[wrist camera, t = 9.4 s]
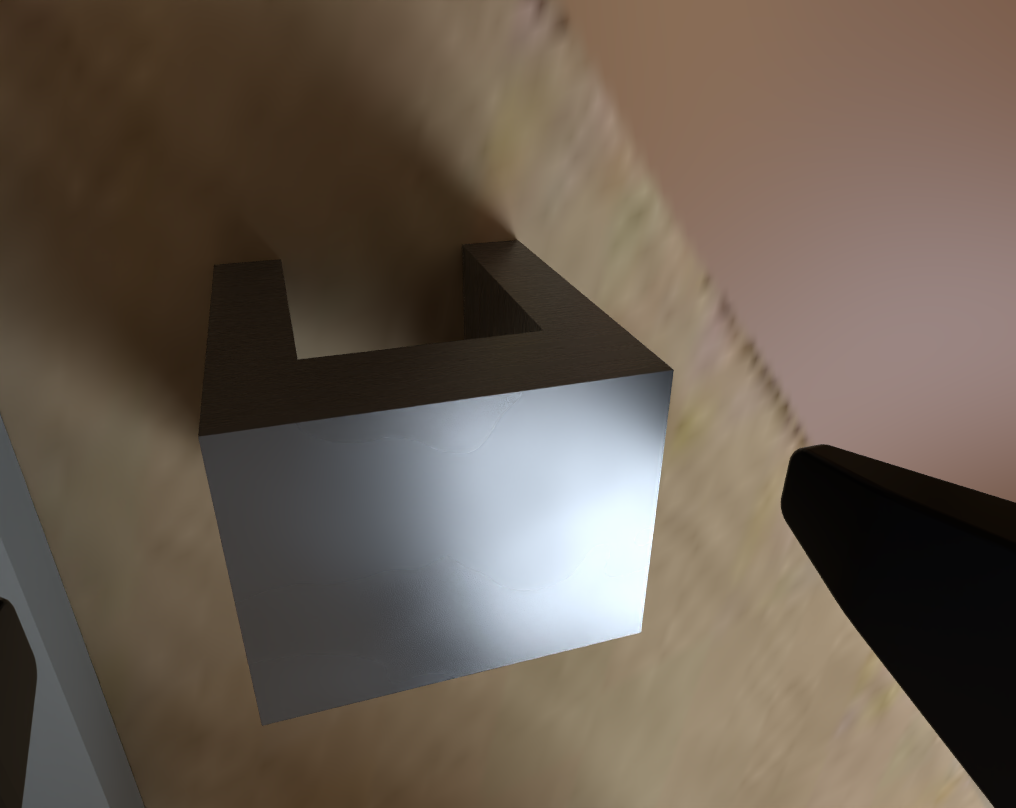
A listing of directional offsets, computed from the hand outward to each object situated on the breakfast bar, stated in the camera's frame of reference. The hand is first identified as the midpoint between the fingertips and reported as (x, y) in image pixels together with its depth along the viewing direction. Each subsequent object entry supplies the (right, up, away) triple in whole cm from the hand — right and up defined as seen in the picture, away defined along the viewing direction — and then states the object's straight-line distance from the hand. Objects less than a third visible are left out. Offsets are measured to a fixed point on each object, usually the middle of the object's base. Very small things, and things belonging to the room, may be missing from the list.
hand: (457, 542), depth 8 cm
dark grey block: (-2, +2, +5) cm, 6 cm away
